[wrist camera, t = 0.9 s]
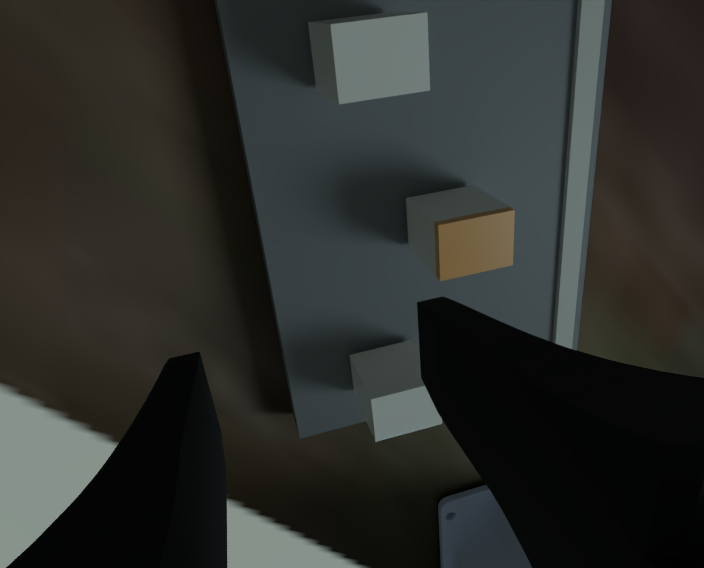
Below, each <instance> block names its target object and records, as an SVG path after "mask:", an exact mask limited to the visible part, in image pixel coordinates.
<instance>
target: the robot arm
mask: <svg viewBox="0 0 704 568" xmlns="http://www.w3.org/2000/svg"><path fill="white" fill-rule="evenodd" d="M417 314H418V332H419V350H420V368H421V379H422V381H423V383H424V385H425V387H426V389H427V391H428V393H429V396H430V398H431V400H432V402H433V404H434V406H435V408H436V410H437V412H438V414H439V415H440V417H441V418H442V420H443V421H444V423H445V424H446V426H447V427H448V429H449V430H450V432H451V433H452V435H453V436H454V438H455V439H456V441H457V442H458V444H459V445H460V447H461V448H462V450H463V451H464V453H465V454H466V456H467V457H468V459H469V460H470V462H471V463H472V465H473V466H474V467H475V469H476V470H477V472H478V473H479V475H480V476H481V478H482V479H483V481H484V482H485V484H486V485H483V486H480V487H477V488H473V489H470V490H467V491H463V492H460V493H457V494H453V495H450V496H447V497H445V498H443V499H442V500H441V501H440V502H439V504H438V517H439V540H440V562H441V568H704V378H700V377H693V376H686V375H680V374H674V373H668V372H662V371H657V370H652V369H647V368H642V367H638V366H633V365H628V364H624V363H620V362H616V361H611V360H608V359H604V358H600V357H597V356H593V355H590V354H587V353H583V352H580V351H576V350H573V349H570V348H567V347H564V346H561V345H558V344H555V343H553V342H550V341H547V340H545V339H542V338H539V337H537V336H534V335H531V334H529V333H526V332H524V331H522V330H519V329H517V328H514V327H512V326H510V325H507V324H505V323H503V322H501V321H498V320H496V319H494V318H492V317H489V316H487V315H485V314H483V313H481V312H478V311H476V310H474V309H472V308H470V307H467V306H465V305H463V304H461V303H458V302H456V301H454V300H451V299H449V298H446V297H443V296H442V297H438V298H433V299H429V300H425V301H420V302H417ZM6 568H227V499H226V466H225V459H224V451H223V444H222V437H221V429H220V425H219V422H218V418H217V414H216V411H215V407H214V403H213V400H212V396H211V392H210V389H209V385H208V381H207V378H206V374H205V370H204V367H203V363H202V359H201V355H200V352H196V353H192V354H187V355H183V356H178V357H174V358H170V359H169V360H168V361H167V362H166V364H165V365H164V367H163V369H162V371H161V373H160V375H159V377H158V379H157V381H156V383H155V385H154V387H153V388H152V390H151V392H150V394H149V396H148V398H147V399H146V401H145V403H144V404H143V406H142V408H141V409H140V411H139V413H138V414H137V416H136V418H135V420H134V421H133V423H132V424H131V426H130V428H129V429H128V431H127V432H126V434H125V435H124V437H123V438H122V440H121V441H120V442H119V444H118V445H117V447H116V448H115V450H114V451H113V453H112V454H111V456H110V457H109V459H108V460H107V461H106V463H105V464H104V465H103V467H102V468H101V469H100V471H99V472H98V473H97V475H96V476H95V477H94V478H93V480H92V481H91V482H90V483H89V484H88V485H87V487H86V488H85V489H84V490H83V491H82V493H81V494H80V495H79V496H78V497H77V498H76V499H75V500H74V502H73V503H72V504H71V505H70V506H69V507H68V508H67V509H66V510H65V511H64V512H63V513H62V514H61V515H60V516H59V517H58V518H57V519H56V520H55V521H54V522H53V523H52V524H51V525H50V526H49V527H48V528H47V529H46V531H44V532H43V533H42V535H41V536H40V537H39V538H38V539H37V540H36V541H35V542H34V543H33V544H31V545H30V547H28V548H27V549H26V550H25V551H24V552H23V553H22V554H21V555H20V556H18V557H17V558H16V559H15V560H14V561H13V562H12V563H11V564H10V565H9V566H8V567H6Z"/></svg>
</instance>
